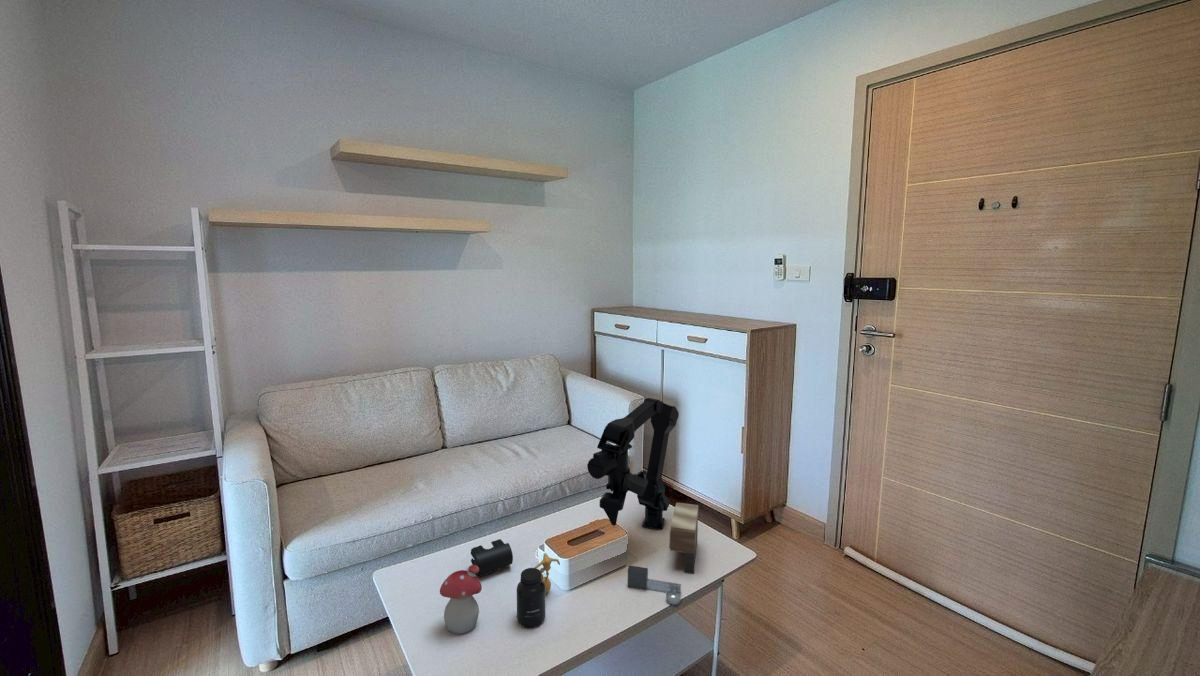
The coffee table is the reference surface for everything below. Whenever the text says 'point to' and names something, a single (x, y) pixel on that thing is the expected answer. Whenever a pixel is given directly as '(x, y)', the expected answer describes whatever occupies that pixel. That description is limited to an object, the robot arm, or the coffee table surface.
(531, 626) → the supplement bottle
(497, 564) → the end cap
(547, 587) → the figurine
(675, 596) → the grey metal dome
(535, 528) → the coffee table surface
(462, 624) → the decorative ornament
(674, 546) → the bronze curved block
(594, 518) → the coffee table surface
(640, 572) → the blade tool
